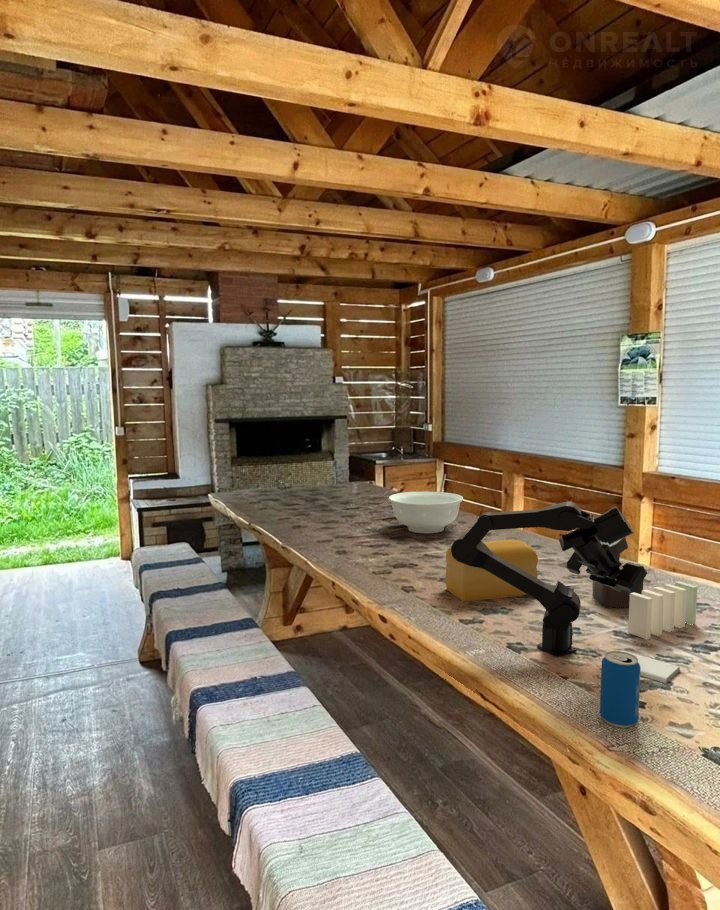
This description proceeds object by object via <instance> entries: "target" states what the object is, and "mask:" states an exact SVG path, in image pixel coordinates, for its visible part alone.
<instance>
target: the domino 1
mask: <svg viewBox="0 0 720 910" xmlns="http://www.w3.org/2000/svg"><path fill="white" fill-rule="evenodd" d="M651 612H652V598H650V597H647V596H644V595H641V594H638V593H635V592H634V593H630V601H629V608H628V627H627V629H628V632H627V633H629V634H631V635H634V636H636V637H639V638H641V639H644V640H649V639H651V634H652V633H651Z"/></svg>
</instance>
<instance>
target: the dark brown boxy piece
mask: <svg viewBox="0 0 720 910" xmlns="http://www.w3.org/2000/svg"><path fill="white" fill-rule="evenodd" d="M620 555H621V553H620V554H619V555H618V557H619V558H620V559H621V557H620ZM620 559H619V560H618V562H619V563H622V565H624V566H625V564H626V563H623V562H622V561H620ZM642 590H644V580H643V581H642V583H641V584H640V586H639V588H638V589H637V591H636V592H635V593H638V594H642ZM630 593H631V592H628V591H625V590H622V591H621V592H619V591H617V590H614V589H612V588H610V587H607V586H605V585H603V584H600V583H598V582H595V581H593V580H592V594H591V595H592V598H593V599H594V600H595V601H597V602H598V603H599V604H601V605H602V606H603V607H605V608H606V609H629V601H630Z"/></svg>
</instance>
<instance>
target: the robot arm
mask: <svg viewBox="0 0 720 910" xmlns="http://www.w3.org/2000/svg"><path fill="white" fill-rule="evenodd" d="M528 528H543V529H544V528H545V529H549V530H552V531H554V530H555V531H562V532H568V533H565V534H561V535H560V536H561V537H560V538H559V540H558V541H559V544H560V547H561V550H562V552H566V551H567V550H569V549H572V550H573V551H574V552H573V553H572V554H571V556H570V557H569V558H568V560H567V562H566V569H567V570H568V571H569V572H570V573H572V574H575V575H577V576H579V575H580V574H581V571H580V569H581V568H582V566H585V567H586V569H585V572H586V573H587V574H589V576H588V577H589V580H590V581H592V582H593V581H595V582H598V583H600V584H603V585H605V586H607V587H610V588H612V589H614V590H617V591H619V592H621V591H622V590H625V591H628V592H631V593H634V592H636V591H637V589H638V588H639V586H640V584H641V583H642V581H643V582H644V581H645V580H644V579H645V578H646V576H647V575H648V572H647V570H646V568H645V567H644V566H643V565H641V564H638V563H634V562H632V561H631V562H630V561H628V562H625V563H624V564H625V566H624V565H622V563H623V562H621V563H619V562H618V560H619V559H621V557H620V558H619V557H618V555H619V554H620V555H621V554H622V553H623V552H624V551H625V550H628V548H629V546H628V542H627V537H629V536H632V535H633V534H634V530H633V529H632V527H631V525H630V523H629V521H628V520H627V518H626V516H624V515H623V513H622V512H621V511H620V510H619V508H618V507H617V506H613V507H611V508H610V509H608V510H607V511H605V512H602V513H601V514H599V515H597V516H596V515H593V514H591V513H590V512H589V513H588V512H587V511H584V510H582V509H581V507H580V506H579V505H578V504H576V503H575V502H572V501H564V502H560V503H555V504H552V505H549V506H548V505H547V506H546V507H545V506H544V507H543V508H539V509H537V508H536V509H523V510H513V511H511V510H510V511H498V512H490V511H486V512H483V513H482V514H480V516H479V517H478V518H477V521H476V522H475V523H474V524H473V526H471V528H470V529H469V530H468V531H467V533H463V534H461V535H459V537H457V538H456V540H455V541H453V543H452V544H451V546H450V547H451V553H452V556H453V558H454V559H455V560H456V561H458V562H461V563H463V564H466V565H468V566H471V567H476V568H481V569H484V570H486V571H488V572H490V573H491V574H493V575H495V576H496V577H498V578H500V579H502V580H503V581H505V582H507V583H508V584H510V585H512V586H514V587H515V588H517V589H519V590H520V591H522V592H524V593H526V594H527V595H526V596H529V597H531V598H532V599H534V600H536V601H537V602H538V603H539V604H540V605H541V606H542V608H544V609H545V612H544V614H543V618H542V629H541V630H542V637H541V638H542V639H541V643H537V644H536V647H537V648H539V649H541V650H543V651H544V652H547V653H549V654H551V655H554V656H555V657H560V656H561V657H562V656H563V655H567V654H571V653H574V652H576V651H577V648H576V647H574V646H572V645H573V632H574V631H573V622H575V621H576V620H577V619H578V618H579V617H580V613H581V612H580V611H581V604H582V603H581V599H580V596H579V595H578V594H577V593H576V592H575V589H574V588H572V587H570V586H567V585H565V584H564V583H563V582H561V581H559V580H557V581H556V584H550V583H546V582H544V581H543V580H541V579H539V578H538V577H537V578H536V577H534V576H532V575H530V574H529V573H527V572H525V571H523V570H522V569H520V568H518V567H516V566H515V565H513V564H511V563H509V562H508V561H506V560H504V559H502V558H501V557H499V556H497V555H495V554H494V553H492V552H491V550H490V549H489V548H488V547H487V546H486V545H485V544H484V543H483V542H484V541H482V540H483V539H484V538H485V537H486V535H487V534H488V533H489V532H490V531H500V530H514V529H528Z"/></svg>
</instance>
